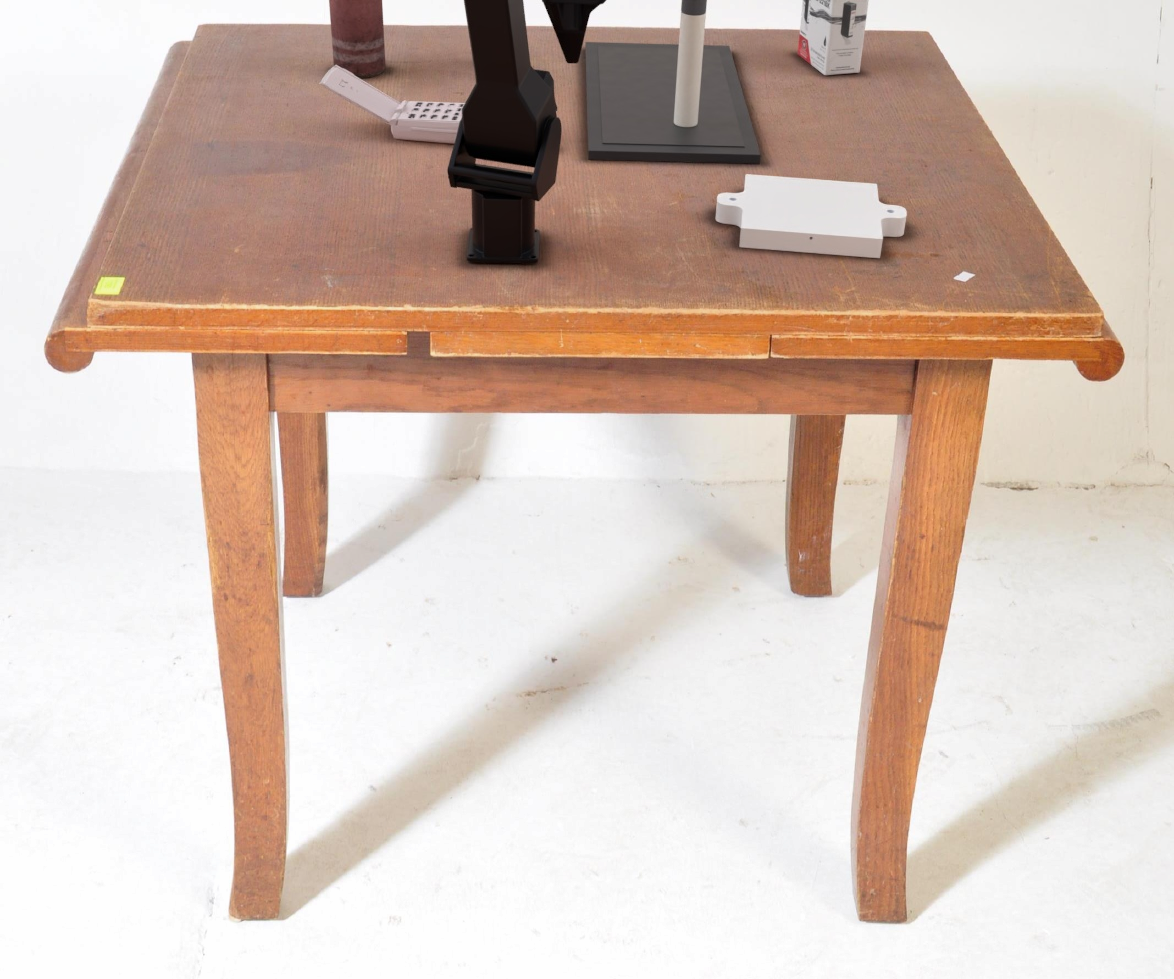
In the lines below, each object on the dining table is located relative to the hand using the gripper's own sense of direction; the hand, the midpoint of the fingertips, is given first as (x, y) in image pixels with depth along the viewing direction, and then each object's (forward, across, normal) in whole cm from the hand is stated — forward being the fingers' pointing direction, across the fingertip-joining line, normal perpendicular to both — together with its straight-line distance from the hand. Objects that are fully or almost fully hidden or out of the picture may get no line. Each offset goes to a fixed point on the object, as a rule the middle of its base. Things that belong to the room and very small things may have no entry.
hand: (572, 47), depth 139 cm
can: (+13, +30, +25) cm, 41 cm away
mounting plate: (+13, -11, -23) cm, 29 cm away
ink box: (+13, +37, -32) cm, 51 cm away
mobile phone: (+13, +10, +14) cm, 22 cm away
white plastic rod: (+12, +12, -13) cm, 21 cm away
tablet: (+13, +22, -11) cm, 28 cm away
